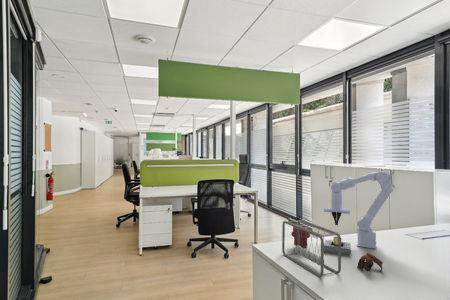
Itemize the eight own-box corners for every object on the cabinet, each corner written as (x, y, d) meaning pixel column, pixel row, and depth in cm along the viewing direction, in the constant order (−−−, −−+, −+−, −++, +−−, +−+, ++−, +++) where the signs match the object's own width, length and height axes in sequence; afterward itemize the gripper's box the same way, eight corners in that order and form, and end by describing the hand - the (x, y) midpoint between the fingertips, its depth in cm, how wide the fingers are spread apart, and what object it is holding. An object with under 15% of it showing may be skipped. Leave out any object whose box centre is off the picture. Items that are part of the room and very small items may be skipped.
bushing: (341, 250, 151) (341, 237, 151) (341, 252, 148) (341, 239, 148) (333, 248, 153) (333, 236, 153) (333, 251, 149) (333, 238, 149)
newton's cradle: (281, 254, 144) (282, 219, 144) (298, 252, 148) (298, 218, 148) (321, 279, 116) (322, 236, 116) (341, 275, 120) (341, 234, 120)
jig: (350, 249, 152) (350, 243, 152) (350, 256, 142) (350, 249, 142) (325, 245, 158) (325, 239, 158) (323, 252, 148) (323, 245, 148)
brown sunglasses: (356, 264, 133) (365, 250, 132) (376, 278, 128) (385, 263, 127) (354, 267, 122) (364, 251, 122) (375, 282, 117) (386, 265, 117)
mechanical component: (290, 244, 159) (308, 245, 158) (292, 250, 149) (311, 251, 148) (290, 222, 159) (308, 223, 158) (292, 227, 149) (311, 228, 148)
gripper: (323, 202, 167) (323, 224, 167) (349, 204, 161) (349, 227, 161) (324, 200, 173) (324, 222, 173) (350, 202, 167) (349, 225, 167)
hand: (336, 224), depth 167 cm, fingers closed
